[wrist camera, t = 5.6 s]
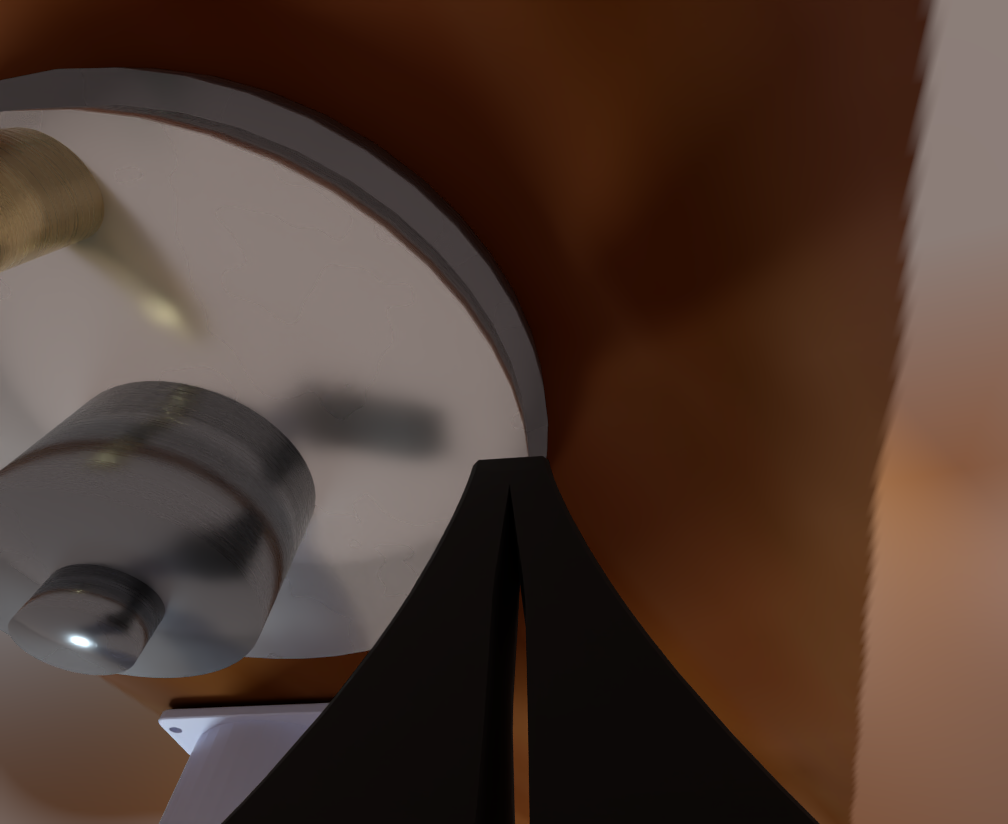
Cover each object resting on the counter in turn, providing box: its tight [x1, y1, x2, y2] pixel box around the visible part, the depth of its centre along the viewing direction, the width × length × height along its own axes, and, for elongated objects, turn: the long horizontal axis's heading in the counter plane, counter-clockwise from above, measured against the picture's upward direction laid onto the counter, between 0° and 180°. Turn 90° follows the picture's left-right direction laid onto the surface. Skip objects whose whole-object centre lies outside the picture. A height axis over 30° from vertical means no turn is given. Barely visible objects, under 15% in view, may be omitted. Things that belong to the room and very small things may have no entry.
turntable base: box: [0, 68, 548, 458], centre depth 13 cm, size 15×15×1 cm
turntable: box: [0, 105, 529, 659], centre depth 10 cm, size 14×14×5 cm
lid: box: [0, 381, 316, 678], centre depth 9 cm, size 5×5×4 cm
